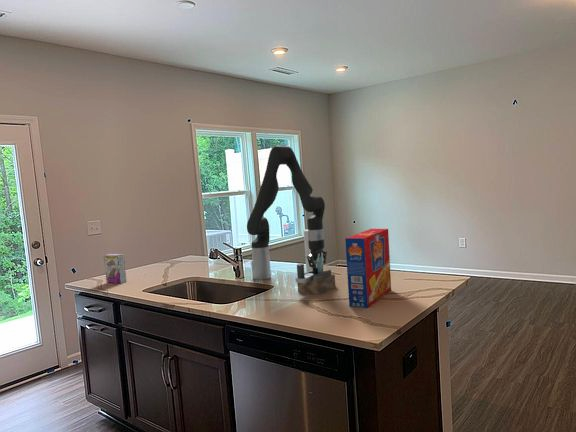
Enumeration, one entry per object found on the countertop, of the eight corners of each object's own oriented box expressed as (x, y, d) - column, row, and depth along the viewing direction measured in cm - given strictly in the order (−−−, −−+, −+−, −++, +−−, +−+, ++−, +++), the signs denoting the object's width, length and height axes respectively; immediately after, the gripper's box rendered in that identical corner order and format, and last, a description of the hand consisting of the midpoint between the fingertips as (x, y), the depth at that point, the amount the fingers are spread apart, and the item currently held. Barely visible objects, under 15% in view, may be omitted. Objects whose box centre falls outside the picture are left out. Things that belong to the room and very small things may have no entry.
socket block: (298, 291, 208) (296, 274, 207) (314, 284, 219) (313, 268, 218) (319, 294, 201) (318, 276, 200) (335, 286, 212) (334, 269, 211)
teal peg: (313, 282, 211) (311, 257, 210) (317, 280, 214) (316, 256, 213) (320, 283, 209) (318, 258, 208) (324, 281, 212) (323, 256, 211)
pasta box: (367, 308, 175) (364, 238, 173) (349, 306, 180) (345, 238, 177) (391, 290, 199) (388, 228, 197) (374, 289, 203) (371, 228, 201)
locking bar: (295, 282, 200) (293, 265, 200) (308, 277, 209) (307, 260, 208) (303, 283, 197) (302, 265, 197) (316, 278, 206) (315, 261, 205)
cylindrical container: (319, 277, 234) (316, 230, 231) (305, 277, 235) (302, 231, 233) (320, 274, 240) (317, 228, 238) (307, 274, 242) (304, 229, 240)
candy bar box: (106, 283, 256) (103, 255, 254) (112, 281, 260) (109, 253, 259) (120, 284, 251) (117, 255, 250) (127, 282, 256) (124, 253, 254)
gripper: (317, 236, 217) (319, 270, 219) (300, 240, 206) (303, 277, 208) (330, 236, 213) (332, 271, 214) (314, 241, 202) (316, 278, 203)
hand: (318, 274), depth 211 cm, fingers closed on teal peg, 4 cm apart
